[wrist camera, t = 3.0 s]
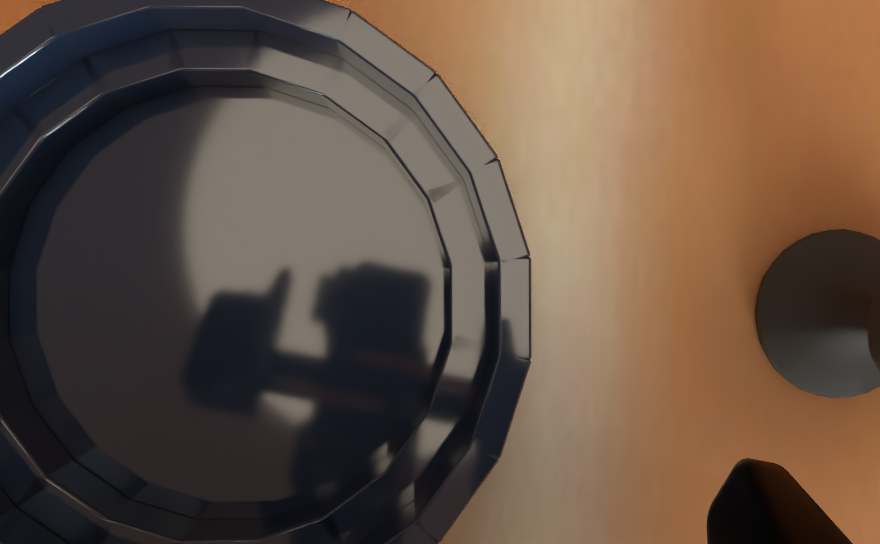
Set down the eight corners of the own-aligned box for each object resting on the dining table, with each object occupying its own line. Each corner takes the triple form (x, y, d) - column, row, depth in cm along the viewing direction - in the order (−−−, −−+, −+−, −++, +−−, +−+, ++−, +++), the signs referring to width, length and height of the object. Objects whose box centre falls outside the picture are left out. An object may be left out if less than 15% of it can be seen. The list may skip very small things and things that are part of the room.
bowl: (509, 568, 23) (532, 635, 19) (-41, 579, 23) (-143, 651, 18) (507, 29, 23) (531, -22, 19) (-47, 25, 22) (-151, -30, 18)
